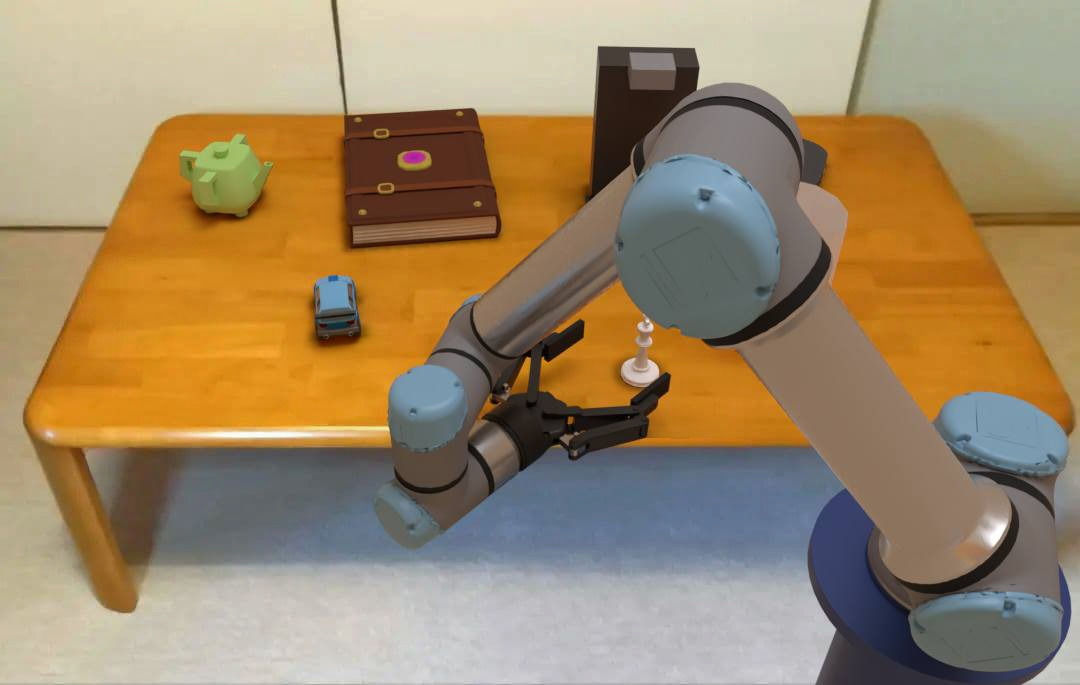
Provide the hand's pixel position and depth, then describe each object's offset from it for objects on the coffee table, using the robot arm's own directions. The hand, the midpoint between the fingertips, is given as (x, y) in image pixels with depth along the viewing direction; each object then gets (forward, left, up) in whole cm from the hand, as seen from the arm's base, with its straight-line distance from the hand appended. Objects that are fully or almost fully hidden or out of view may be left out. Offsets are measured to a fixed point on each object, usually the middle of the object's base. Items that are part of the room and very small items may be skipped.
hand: (623, 353), depth 124 cm
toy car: (+13, +37, -6) cm, 40 cm away
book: (+46, +29, -6) cm, 55 cm away
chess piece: (+3, -3, -6) cm, 7 cm away
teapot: (+40, +57, -6) cm, 70 cm away
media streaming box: (+52, -29, -6) cm, 59 cm away
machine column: (+40, -5, -6) cm, 41 cm away
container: (+14, -21, -6) cm, 26 cm away
